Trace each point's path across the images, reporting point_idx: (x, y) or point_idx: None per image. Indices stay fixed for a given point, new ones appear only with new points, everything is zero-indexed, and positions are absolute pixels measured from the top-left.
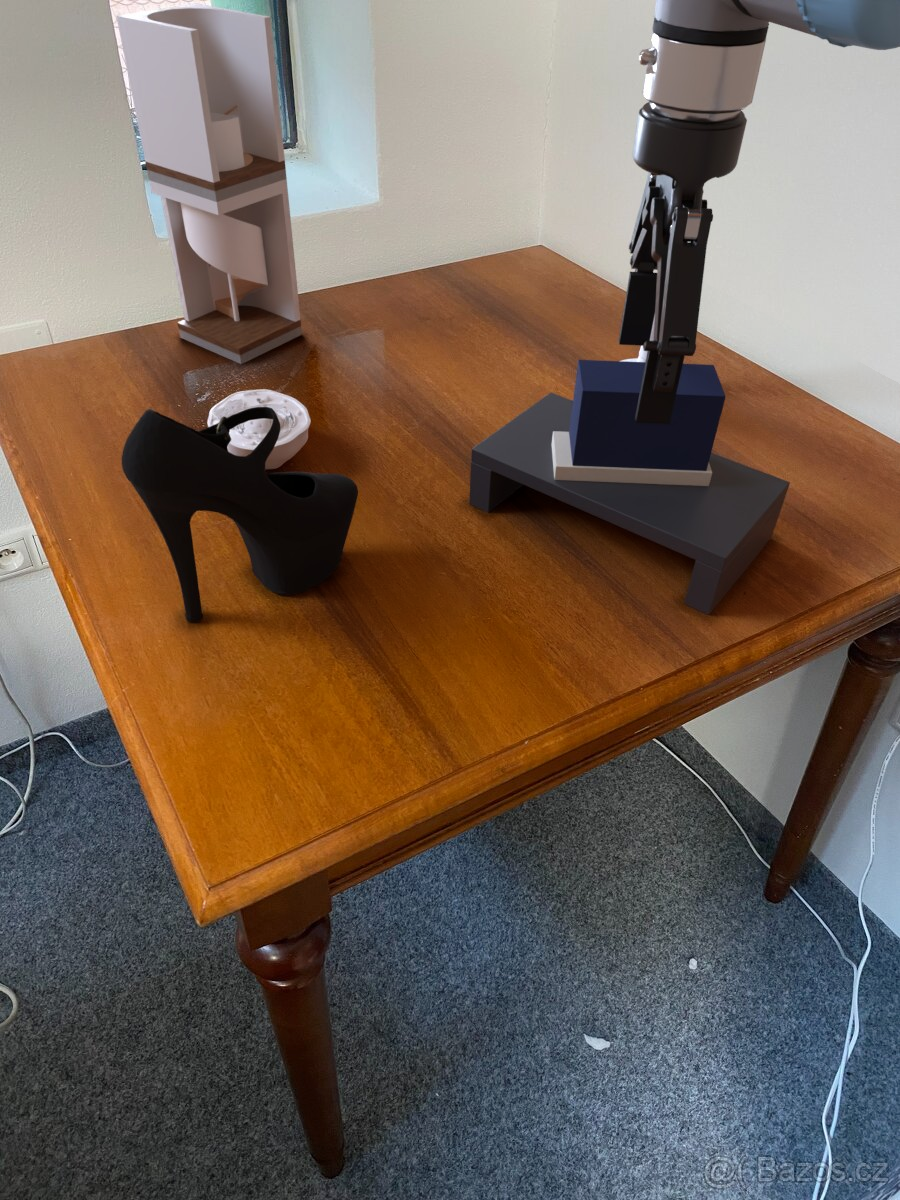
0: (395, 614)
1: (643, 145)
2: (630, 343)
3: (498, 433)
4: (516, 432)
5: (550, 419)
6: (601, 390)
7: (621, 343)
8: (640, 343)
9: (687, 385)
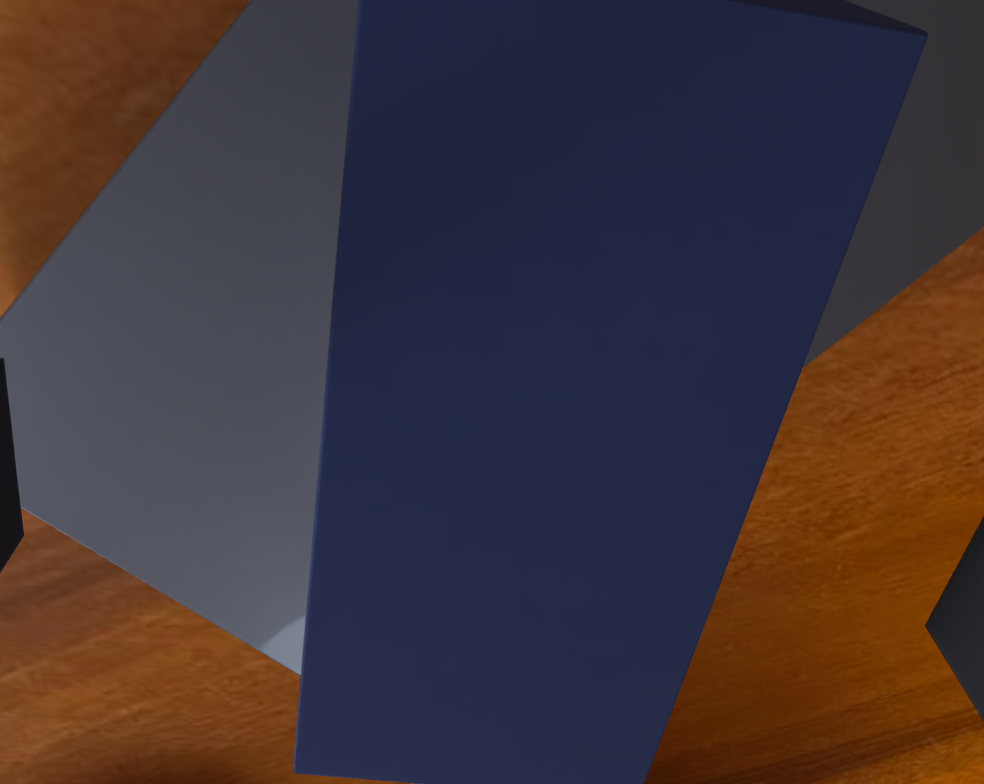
0: (769, 718)
1: None
2: (9, 479)
3: (264, 640)
4: (254, 592)
5: (148, 476)
6: (654, 736)
7: (19, 530)
8: (4, 423)
9: (697, 286)
